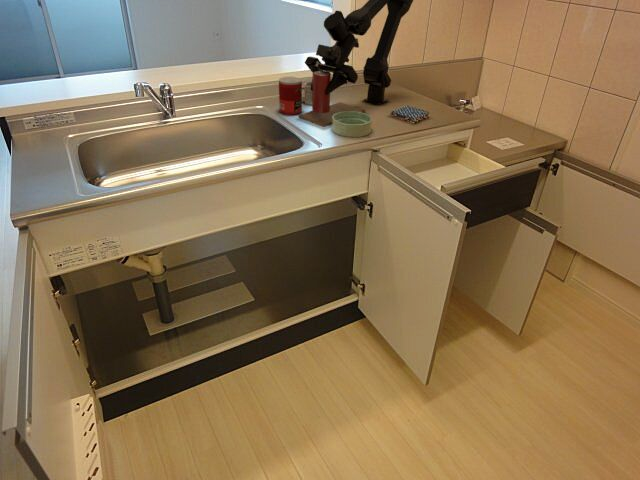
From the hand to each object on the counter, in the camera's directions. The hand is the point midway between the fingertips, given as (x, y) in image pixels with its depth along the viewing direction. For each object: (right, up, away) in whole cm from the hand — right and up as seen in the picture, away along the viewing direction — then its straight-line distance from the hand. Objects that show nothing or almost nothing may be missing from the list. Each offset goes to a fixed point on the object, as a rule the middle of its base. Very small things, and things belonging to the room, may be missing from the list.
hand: (318, 92), depth 141 cm
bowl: (+11, -13, 0) cm, 17 cm away
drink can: (+1, -5, +4) cm, 6 cm away
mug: (-4, +4, +23) cm, 24 cm away
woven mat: (+32, -5, +12) cm, 34 cm away
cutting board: (+5, -5, +11) cm, 13 cm away
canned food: (-10, -2, +14) cm, 18 cm away
